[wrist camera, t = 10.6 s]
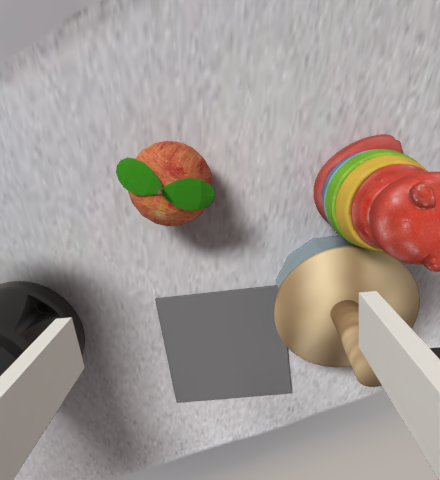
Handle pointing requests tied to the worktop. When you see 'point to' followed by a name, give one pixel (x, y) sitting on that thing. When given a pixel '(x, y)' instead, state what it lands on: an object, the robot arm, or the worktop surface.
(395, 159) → the stacking bear
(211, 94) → the worktop surface
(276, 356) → the mat
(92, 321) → the worktop surface
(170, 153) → the fruit
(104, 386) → the worktop surface
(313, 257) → the lid
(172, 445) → the worktop surface
